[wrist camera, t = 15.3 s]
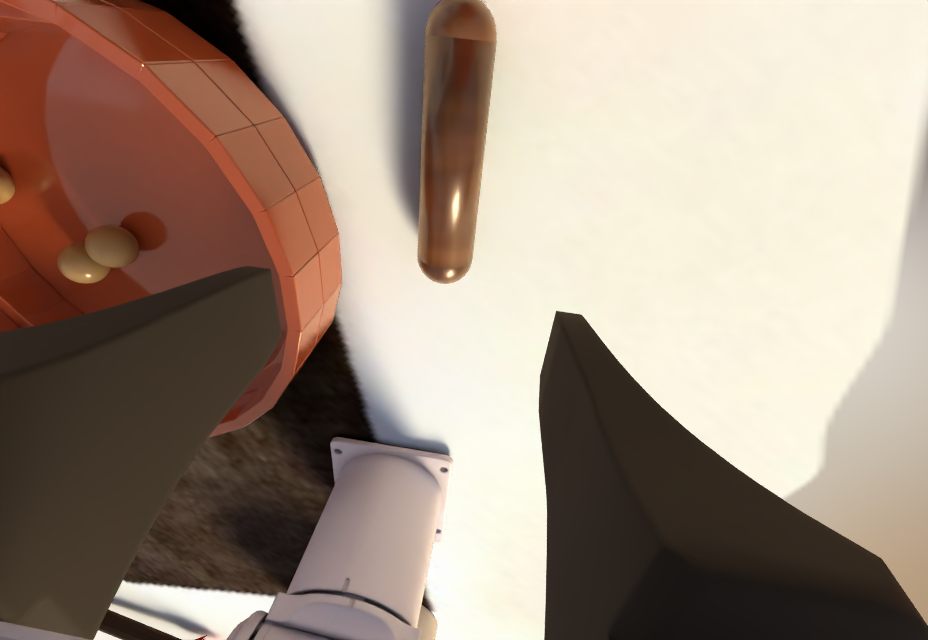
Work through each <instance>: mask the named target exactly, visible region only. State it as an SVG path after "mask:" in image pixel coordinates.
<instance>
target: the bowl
mask: <svg viewBox="0 0 928 640" xmlns="http://www.w3.org/2000/svg"><path fill="white" fill-rule="evenodd" d="M0 167H1V168H3V169H4V170H5V171H7V172H8V173H9V174H10V176H11V177H12V179H13V181H14V183H15V193H14V195H13V196H12V198H11V199H10V200H9V201H7V202H5V203H3V204H0V332H5V331H10V330H15V329H21V328H26V327H32V326H37V325H42V324H46V323H51V322H55V321H59V320H63V319H68V318H72V317H76V316H80V315H84V314H88V313H92V312H96V311H100V310H103V309H107V308H110V307H114V306H117V305H120V304H124V303H127V302H130V301H133V300H137V299H140V298H143V297H147V296H150V295H153V294H157V293H160V292H163V291H166V290H169V289H172V288H175V287H178V286H181V285H184V284H187V283H190V282H193V281H196V280H199V279H202V278H205V277H208V276H211V275H214V274H217V273H221V272H224V271H227V270H231V269H235V268H239V267H244V266H253V267H259V268H266V269H271V275H272V280H273V286H274V292H275V298H276V303H277V309H278V315H279V321H280V327H281V332H282V336H281V338H280V340H279V342H278V344H277V346H276V348H275V349H274V351H273V353H272V355H271V356H270V358H269V360H268V361H267V363H266V365H265V366H264V368H263V369H262V370H261V372H260V373H259V374H258V375H257V377H256V378H255V379H254V381H253V382H252V383H251V384H250V386H249V387H248V388H247V389H246V391H245V392H244V393H243V394H242V396H241V397H240V398H239V399H238V401H237V402H236V403H235V404H234V406H233V407H232V408H231V409H230V411H229V412H228V413H227V414H226V416H225V417H224V418H223V419H222V421H221V422H220V423H219V424H218V425H217V427H216V428H215V429H214V430H213V432H212V433H211V434H210V436H209V437H212V436H216V435H219V434H223V433H226V432H230V431H234V430H237V429H241V428H243V427H245V426H247V425H248V424H250V423H251V422H253V421H254V420H255V419H257V418H258V417H260V416H261V415H263V414H264V413H266V412H267V411H268V410H270V409H271V408H273V407H274V406H275V404H276V403H277V401H278V400H279V399H280V397H281V396H282V394H283V393H284V392H285V390H286V389H287V387H288V386H289V385H290V383H291V382H292V380H293V379H294V378H295V376H296V375H297V373H298V372H299V371H300V369H301V368H302V366H303V365H304V364H305V362H306V361H307V359H308V358H309V357H310V355H311V354H312V352H313V351H314V350H315V348H316V346H317V345H318V343H319V342H320V340H321V339H322V337H323V336H324V334H325V333H326V331H327V329H328V328H329V326H330V325H331V323H332V321H333V318H334V314H335V310H336V305H337V301H338V297H339V293H340V288H341V284H342V273H341V259H340V245H339V233H338V229H337V226H336V223H335V220H334V217H333V214H332V211H331V208H330V205H329V202H328V199H327V196H326V193H325V190H324V187H323V184H322V181H321V178H320V177H319V174H318V172H317V171H316V169H315V167H314V166H313V164H312V162H311V161H310V159H309V157H308V156H307V154H306V152H305V151H304V149H303V147H302V146H301V144H300V142H299V141H298V139H297V137H296V136H295V134H294V132H293V131H292V129H291V127H290V126H289V124H288V122H287V121H286V119H285V118H284V117H283V115H282V114H281V113H280V112H279V111H278V109H277V108H276V107H275V106H274V105H273V104H272V103H271V102H270V101H269V99H268V98H267V97H266V96H265V95H264V94H263V93H262V92H261V91H260V90H259V88H258V87H257V86H256V85H255V84H254V83H253V82H252V81H251V80H250V79H249V77H248V76H247V75H246V74H245V73H244V72H243V71H242V70H241V69H240V68H239V66H238V65H237V64H236V63H235V62H234V61H233V60H231V59H230V58H229V57H228V56H226V55H225V54H224V53H222V52H221V51H220V50H218V49H217V48H215V47H214V46H213V45H211V44H210V43H209V42H207V41H206V40H205V39H203V38H202V37H200V36H199V35H198V34H196V33H195V32H194V31H192V30H191V29H189V28H188V27H187V26H185V25H184V24H183V23H181V22H180V21H179V20H177V19H176V18H174V17H173V16H172V15H170V14H168V13H167V12H165V11H163V10H161V9H158V8H156V7H153V6H151V5H149V4H146V3H144V2H142V1H139V0H0ZM103 225H114V226H119V227H122V228H124V229H126V230H128V231H129V232H130V233H132V234H133V235H134V237H135V238H136V240H137V242H138V245H139V253H138V255H137V257H136V259H135V260H134V261H133V262H132V263H130V264H128V265H126V266H123V267H117V268H113V267H111V269H110V271H109V273H108V275H107V276H106V277H105V278H103V279H102V280H100V281H98V282H94V283H78V282H75V281H72V280H70V279H68V278H67V277H65V276H64V275H63V274H62V273H61V272H60V270H59V268H58V266H57V257H58V255H59V253H60V251H61V250H62V249H63V248H65V247H66V246H68V245H71V244H74V243H85V239H86V237H87V235H88V234H89V232H90V231H92V230H93V229H95V228H97V227H99V226H103ZM209 437H208V438H209Z"/></svg>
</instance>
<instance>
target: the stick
mask: <svg viewBox="0 0 928 640" xmlns="http://www.w3.org/2000/svg"><path fill="white" fill-rule="evenodd" d="M496 41H497V32H496V25H495V22H494V19H493V16H492V14H491V13H490V11H489V9H488V8H487V7H486V5H485V4H484V3H483V2H482V1H480V0H441V1H440V2H439V3H438V4H437V5H436V6H435V7H434V9H433V10H432V12H431V14H430V16H429V18H428V21H427V25H426V32H425V50H424V79H423V109H422V138H421V168H420V197H419V227H418V263H419V266H420V268H421V270H422V272H423V273H424V274H425V275H426V276H427V277H428V278H429V279H431V280H432V281H434V282H437V283H443V284H448V283H453V282H456V281H458V280H460V279H461V278H462V277H463V276H465V274H466V273H467V272H468V270H469V268H470V266H471V263H472V257H473V248H474V239H475V230H476V221H477V212H478V203H479V194H480V185H481V177H482V168H483V159H484V150H485V141H486V132H487V123H488V114H489V105H490V96H491V87H492V78H493V69H494V60H495V51H496Z"/></svg>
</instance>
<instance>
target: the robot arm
mask: <svg viewBox="0 0 928 640" xmlns="http://www.w3.org/2000/svg"><path fill="white" fill-rule="evenodd" d="M281 336H282V332H281V327H280V321H279V315H278V309H277V303H276V298H275V292H274V286H273V280H272V275H271V269H266V268H259V267H253V266H244V267H239V268H235V269H231V270H227V271H224V272H221V273H217V274H214V275H211V276H208V277H205V278H202V279H199V280H196V281H193V282H190V283H187V284H184V285H181V286H178V287H175V288H172V289H169V290H166V291H163V292H160V293H157V294H153V295H150V296H147V297H143V298H140V299H137V300H133V301H130V302H127V303H124V304H120V305H117V306H114V307H110V308H107V309H103V310H100V311H96V312H92V313H88V314H84V315H80V316H76V317H72V318H68V319H63V320H59V321H55V322H51V323H46V324H42V325H37V326H32V327H26V328H21V329H15V330H10V331H5V332H0V640H93V639H94V637H95V635H96V633H97V631H98V629H99V627H100V625H101V623H102V621H103V618H104V616H105V614H106V612H107V610H108V608H109V606H110V604H111V602H112V600H113V598H114V596H115V594H116V592H117V590H118V588H119V586H120V584H121V582H122V580H123V578H124V576H125V574H126V573H127V571H128V569H129V567H130V565H131V563H132V562H133V560H134V558H135V556H136V554H137V552H138V551H139V549H140V547H141V545H142V543H143V541H144V540H145V538H146V536H147V534H148V532H149V530H150V529H151V527H152V525H153V523H154V522H155V520H156V518H157V517H158V515H159V513H160V512H161V510H162V508H163V507H164V505H165V503H166V502H167V500H168V498H169V496H170V495H171V493H172V491H173V490H174V488H175V486H176V485H177V483H178V482H179V480H180V479H181V477H182V475H183V474H184V472H185V471H186V469H187V468H188V466H189V465H190V463H191V461H192V460H193V458H194V457H195V455H196V454H197V452H198V451H199V449H200V448H201V446H202V445H203V444H204V442H205V441H206V440H207V438H208V437H209V436H210V434H211V433H212V432H213V430H214V429H215V428H216V427H217V425H218V424H219V423H220V422H221V421H222V419H223V418H224V417H225V416H226V414H227V413H228V412H229V411H230V409H231V408H232V407H233V406H234V404H235V403H236V402H237V401H238V399H239V398H240V397H241V396H242V394H243V393H244V392H245V391H246V389H247V388H248V387H249V386H250V384H251V383H252V382H253V381H254V379H255V378H256V377H257V375H258V374H259V373H260V372H261V370H262V369H263V368H264V366H265V365H266V363H267V361H268V360H269V358H270V356H271V355H272V353H273V351H274V349H275V348H276V346H277V344H278V342H279V340H280V338H281ZM539 419H540V430H541V441H542V452H543V462H544V473H545V484H546V497H547V569H546V610H545V640H928V625H927V624H926V623H925V621H924V620H923V618H922V617H921V615H920V614H919V612H918V611H917V609H916V608H915V607H914V605H913V603H912V602H911V601H910V599H909V598H908V596H907V595H906V593H905V592H904V590H903V589H902V588H901V586H900V585H899V583H898V582H897V580H896V579H895V577H894V576H893V574H892V573H891V572H890V570H889V569H888V567H887V566H886V564H885V563H884V562H883V560H882V559H881V558H880V557H878V556H876V555H875V554H873V553H871V552H869V551H868V550H866V549H864V548H863V547H861V546H859V545H858V544H856V543H854V542H852V541H851V540H849V539H847V538H846V537H844V536H842V535H840V534H839V533H837V532H835V531H834V530H832V529H830V528H828V527H827V526H825V525H823V524H822V523H820V522H818V521H817V520H815V519H813V518H811V517H810V516H808V515H806V514H805V513H803V512H801V511H800V510H798V509H797V508H795V507H793V506H792V505H790V504H789V503H787V502H786V501H784V500H783V499H781V498H780V497H778V496H777V495H775V494H774V493H772V492H771V491H769V490H768V489H766V488H765V487H763V486H762V485H760V484H758V483H757V482H756V481H754V480H753V479H751V478H750V477H748V476H747V475H746V474H744V473H743V472H741V471H740V470H738V469H737V468H736V467H734V466H733V465H731V464H730V463H729V462H727V461H726V460H725V459H724V458H722V457H721V456H720V455H718V454H717V453H716V452H714V451H713V450H712V449H710V448H709V447H708V446H707V445H705V444H704V443H703V442H701V441H700V440H699V439H698V438H696V437H695V436H694V435H693V434H692V433H690V432H689V431H688V430H687V429H686V428H684V427H683V426H682V425H681V424H680V423H679V422H678V421H677V420H675V419H674V418H673V417H672V416H671V415H670V414H669V413H668V412H667V411H665V410H664V409H663V408H662V407H661V406H660V405H659V404H658V403H657V402H656V401H655V400H654V399H653V398H652V397H651V396H650V395H649V394H648V393H647V392H646V391H645V390H644V389H643V388H642V387H641V386H640V385H639V384H638V383H637V382H636V381H635V380H634V378H633V377H632V376H631V375H630V374H629V373H628V372H627V371H626V370H625V368H624V367H623V366H622V365H621V364H620V363H619V361H618V360H617V359H616V358H615V357H614V355H613V354H612V353H611V352H610V350H609V349H608V348H607V347H606V345H605V344H604V343H603V342H602V340H601V339H600V338H599V336H598V335H597V334H596V333H595V331H594V330H593V329H592V327H591V326H590V325H589V323H588V322H587V321H586V320H585V318H584V317H583V316H582V315H580V314H573V313H566V312H559V311H556V314H555V318H554V322H553V326H552V330H551V334H550V338H549V342H548V346H547V350H546V354H545V358H544V362H543V366H542V370H541V374H540V391H539ZM330 446H331V455H332V463H333V472H334V480H335V486H334V488H333V490H332V492H331V494H330V497H329V499H328V501H327V503H326V506H325V508H324V510H323V512H322V515H321V517H320V519H319V521H318V524H317V526H316V528H315V530H314V533H313V535H312V537H311V539H310V542H309V544H308V546H307V548H306V550H305V553H304V555H303V557H302V559H301V562H300V564H299V566H298V568H297V571H296V573H295V575H294V577H293V580H292V582H291V584H290V586H289V589H288V591H287V593H286V594H285V593H280V592H279V593H278V594H277V596H276V598H275V600H274V602H273V604H272V606H271V609H270V611H269V613H266V612H264V611H256V612H255V613H253V614H252V615H251V616H250V617H249V618H247V619H246V620H244V621H243V622H241V623H240V624H239V625H238V626H237V627H236V628H235V629H234V630H233V631H232V633H231V634H230V635H229V637H228V638H227V640H420V638H421V632H422V631H421V630H420V629H418V628H417V624H418V619H419V614H420V609H421V604H422V599H423V594H424V589H425V584H426V578H427V573H428V568H429V563H430V558H431V553H432V548H433V543H434V542H441V541H443V538H444V531H445V523H446V515H447V506H448V498H449V490H450V481H451V473H452V464H453V460H452V458H451V457H449V456H447V455H443V454H437V453H431V452H425V451H419V450H413V449H407V448H401V447H395V446H389V445H383V444H378V443H372V442H366V441H360V440H354V439H348V438H342V437H335V438H333V439H332V441H331V443H330Z"/></svg>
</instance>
